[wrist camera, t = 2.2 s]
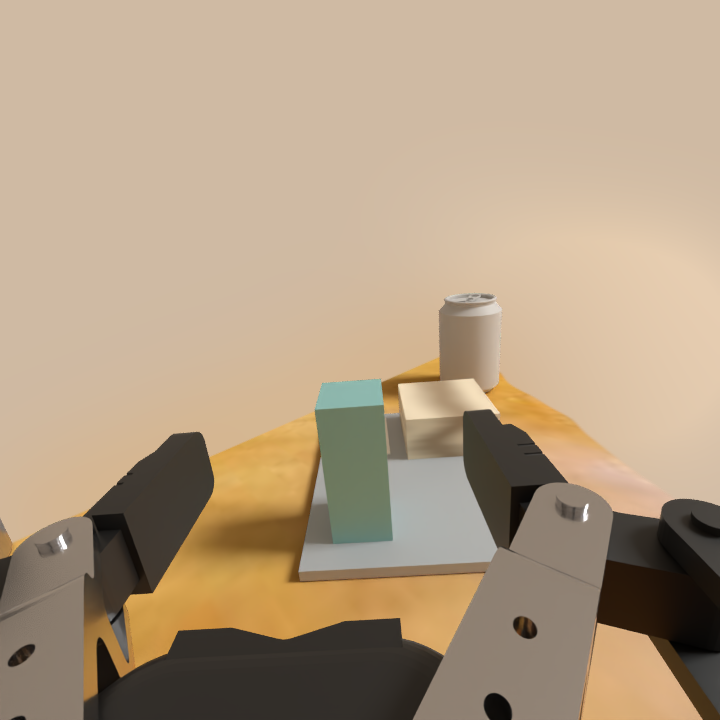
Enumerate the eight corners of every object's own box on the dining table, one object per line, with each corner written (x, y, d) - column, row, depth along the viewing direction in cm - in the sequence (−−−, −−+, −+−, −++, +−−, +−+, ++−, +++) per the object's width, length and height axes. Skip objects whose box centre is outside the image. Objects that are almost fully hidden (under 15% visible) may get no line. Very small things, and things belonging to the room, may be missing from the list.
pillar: (333, 544, 24) (314, 409, 21) (337, 502, 28) (322, 383, 25) (393, 540, 24) (383, 404, 21) (389, 499, 28) (380, 378, 25)
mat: (300, 581, 23) (298, 569, 22) (329, 424, 42) (328, 416, 41) (560, 567, 22) (561, 555, 22) (470, 414, 41) (470, 406, 41)
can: (428, 387, 49) (426, 299, 45) (460, 371, 54) (461, 289, 50) (478, 403, 44) (480, 303, 40) (509, 383, 48) (514, 292, 44)
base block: (407, 459, 33) (405, 420, 31) (399, 417, 40) (397, 384, 39) (498, 453, 32) (499, 413, 31) (472, 412, 40) (473, 378, 39)
